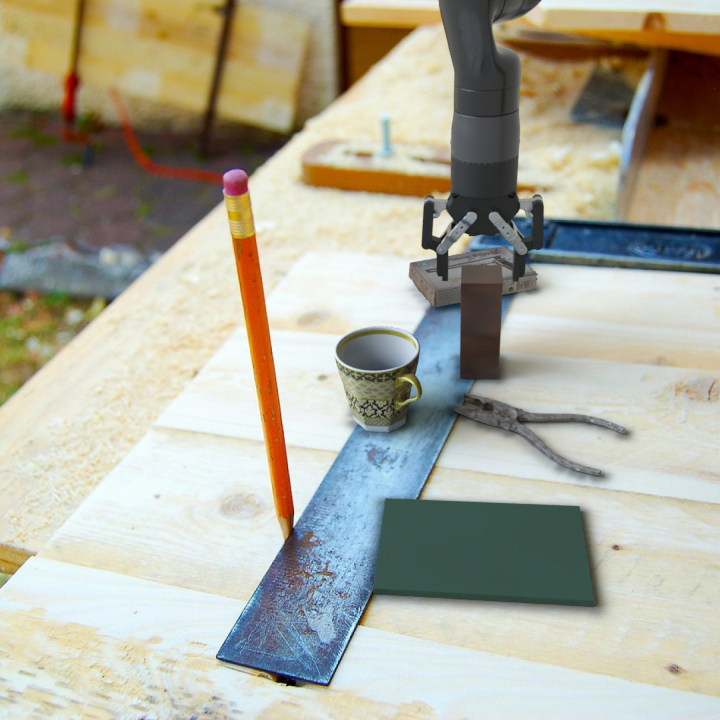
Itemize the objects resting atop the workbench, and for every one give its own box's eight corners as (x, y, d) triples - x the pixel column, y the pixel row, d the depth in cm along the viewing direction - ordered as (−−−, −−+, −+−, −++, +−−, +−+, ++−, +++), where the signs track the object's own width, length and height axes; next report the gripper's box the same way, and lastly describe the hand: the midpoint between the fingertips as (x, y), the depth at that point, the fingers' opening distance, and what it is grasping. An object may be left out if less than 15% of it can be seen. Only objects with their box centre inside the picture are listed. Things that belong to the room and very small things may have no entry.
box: (407, 279, 123) (407, 261, 121) (505, 260, 127) (506, 243, 125) (433, 311, 114) (434, 292, 112) (537, 290, 118) (539, 272, 117)
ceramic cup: (324, 413, 95) (317, 345, 90) (388, 383, 100) (385, 317, 94) (387, 466, 86) (383, 395, 81) (454, 431, 91) (455, 361, 85)
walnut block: (497, 358, 103) (501, 264, 96) (498, 379, 99) (503, 283, 91) (460, 357, 104) (461, 264, 96) (459, 378, 100) (460, 283, 92)
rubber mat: (578, 511, 79) (579, 505, 78) (594, 606, 69) (595, 600, 68) (385, 503, 81) (385, 497, 81) (373, 594, 72) (372, 588, 71)
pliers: (617, 474, 81) (437, 437, 88) (616, 480, 82) (437, 443, 89) (627, 421, 89) (460, 390, 96) (626, 427, 89) (460, 396, 96)
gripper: (418, 161, 83) (420, 292, 92) (553, 159, 81) (541, 293, 90) (422, 139, 89) (423, 264, 98) (547, 137, 87) (537, 265, 96)
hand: (480, 278), depth 94 cm, fingers open, 8 cm apart
